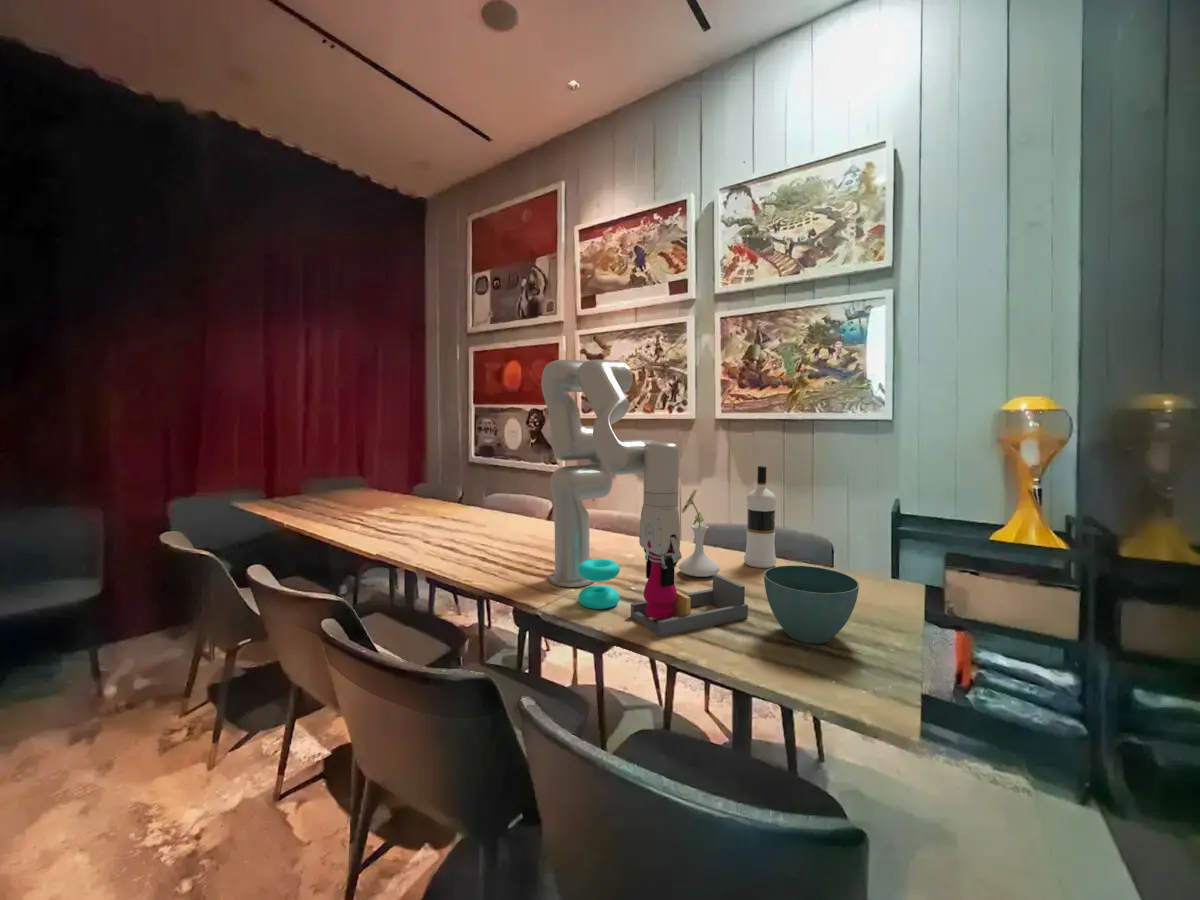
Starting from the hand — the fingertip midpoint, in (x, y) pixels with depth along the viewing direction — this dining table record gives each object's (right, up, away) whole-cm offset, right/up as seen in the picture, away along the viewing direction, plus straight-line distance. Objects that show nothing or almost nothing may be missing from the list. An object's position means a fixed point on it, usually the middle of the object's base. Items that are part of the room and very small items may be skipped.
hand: (659, 580), depth 118 cm
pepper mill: (0, -8, +1) cm, 8 cm away
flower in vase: (+15, -7, +35) cm, 39 cm away
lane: (+7, -9, +4) cm, 12 cm away
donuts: (-13, -9, +13) cm, 21 cm away
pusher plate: (+4, -9, +2) cm, 10 cm away
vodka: (+35, -6, +45) cm, 58 cm away
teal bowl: (+30, -10, -6) cm, 32 cm away
